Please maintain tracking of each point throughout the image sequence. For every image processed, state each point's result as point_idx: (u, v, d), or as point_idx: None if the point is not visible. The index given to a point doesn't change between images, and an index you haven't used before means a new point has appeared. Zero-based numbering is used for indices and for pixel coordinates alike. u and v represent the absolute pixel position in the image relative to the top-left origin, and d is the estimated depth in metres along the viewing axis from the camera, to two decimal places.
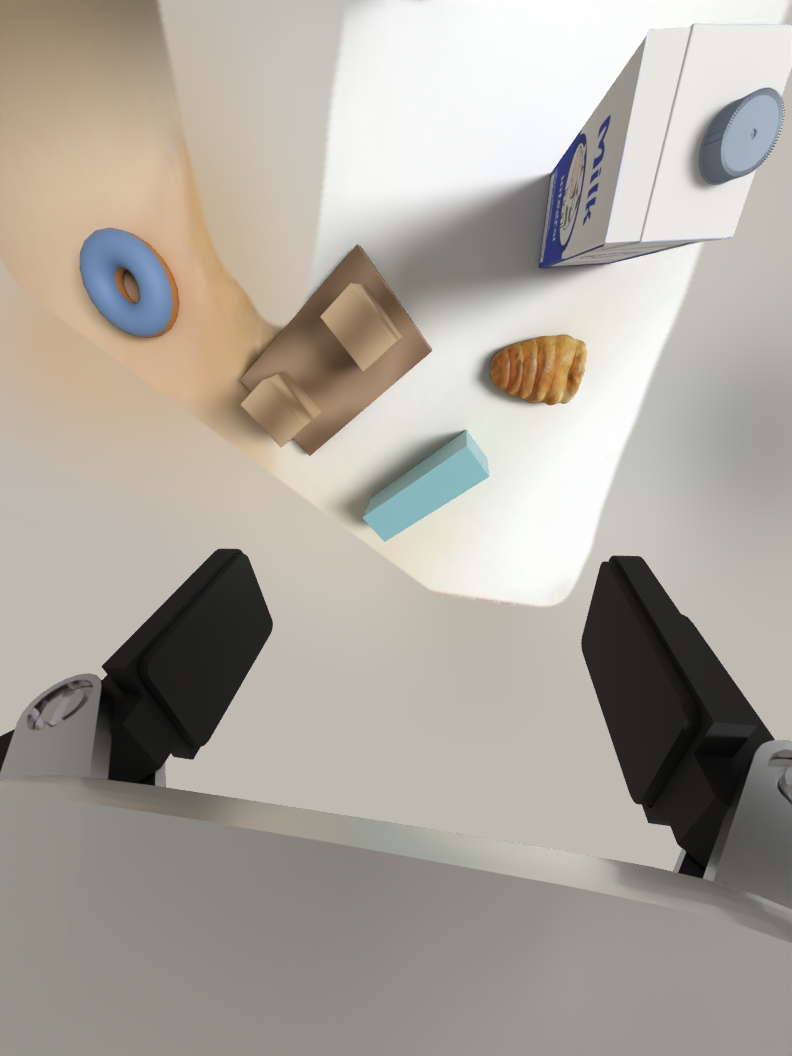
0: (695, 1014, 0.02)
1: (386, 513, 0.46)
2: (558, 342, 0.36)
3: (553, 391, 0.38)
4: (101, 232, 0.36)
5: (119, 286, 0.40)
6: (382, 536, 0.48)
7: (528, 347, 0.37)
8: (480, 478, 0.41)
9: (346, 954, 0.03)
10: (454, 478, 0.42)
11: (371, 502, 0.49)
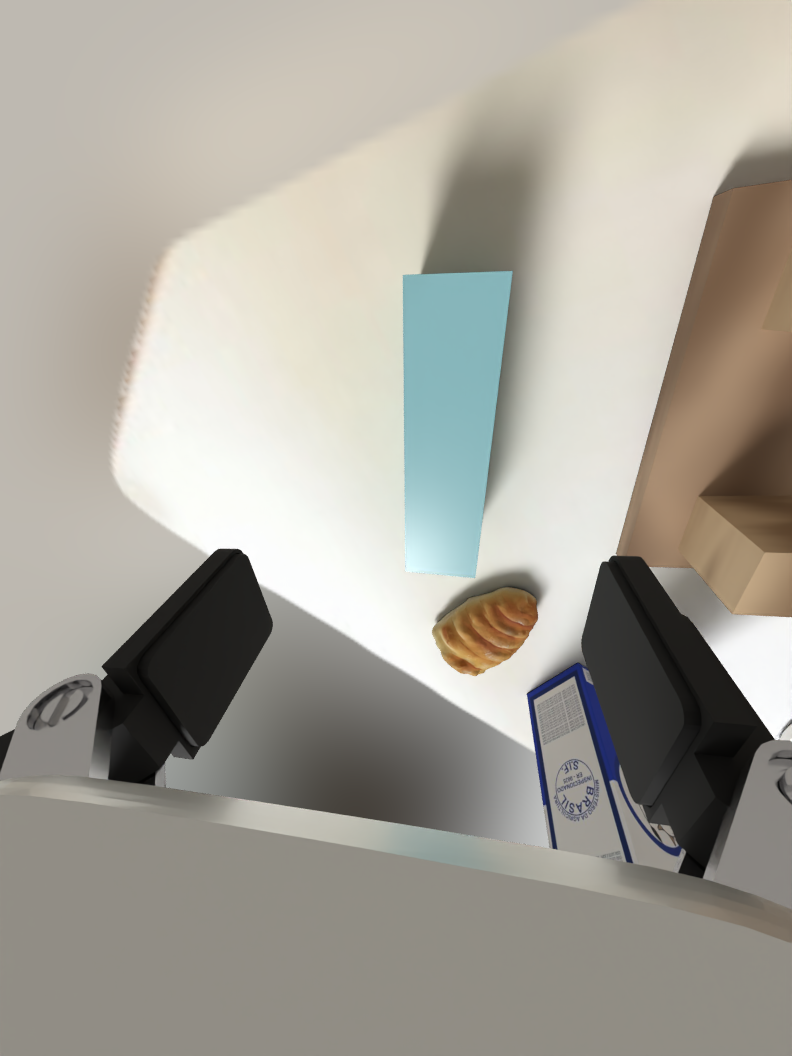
0: (694, 1010, 0.02)
1: (472, 354, 0.16)
2: None
3: (460, 647, 0.30)
4: None
5: None
6: (421, 283, 0.15)
7: (521, 641, 0.30)
8: (411, 560, 0.23)
9: (346, 954, 0.03)
10: (438, 530, 0.22)
11: None
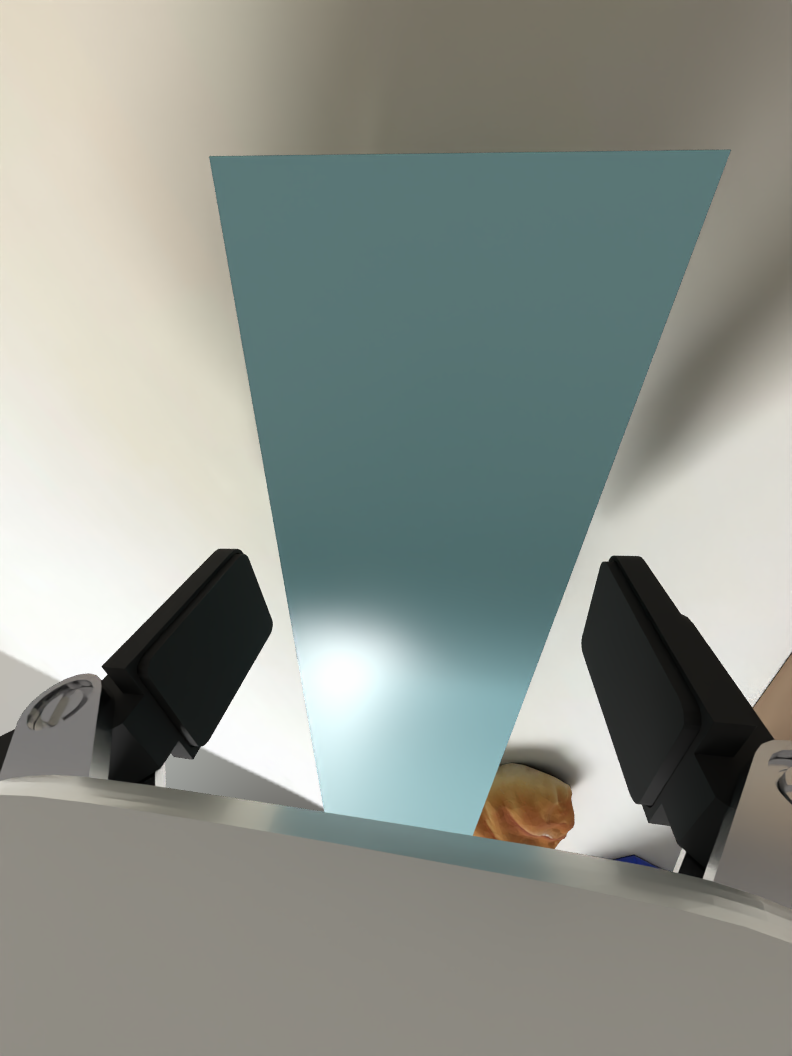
0: (695, 1014, 0.02)
1: (491, 482, 0.05)
2: None
3: None
4: None
5: None
6: (293, 200, 0.04)
7: None
8: None
9: (346, 955, 0.03)
10: (389, 796, 0.10)
11: None
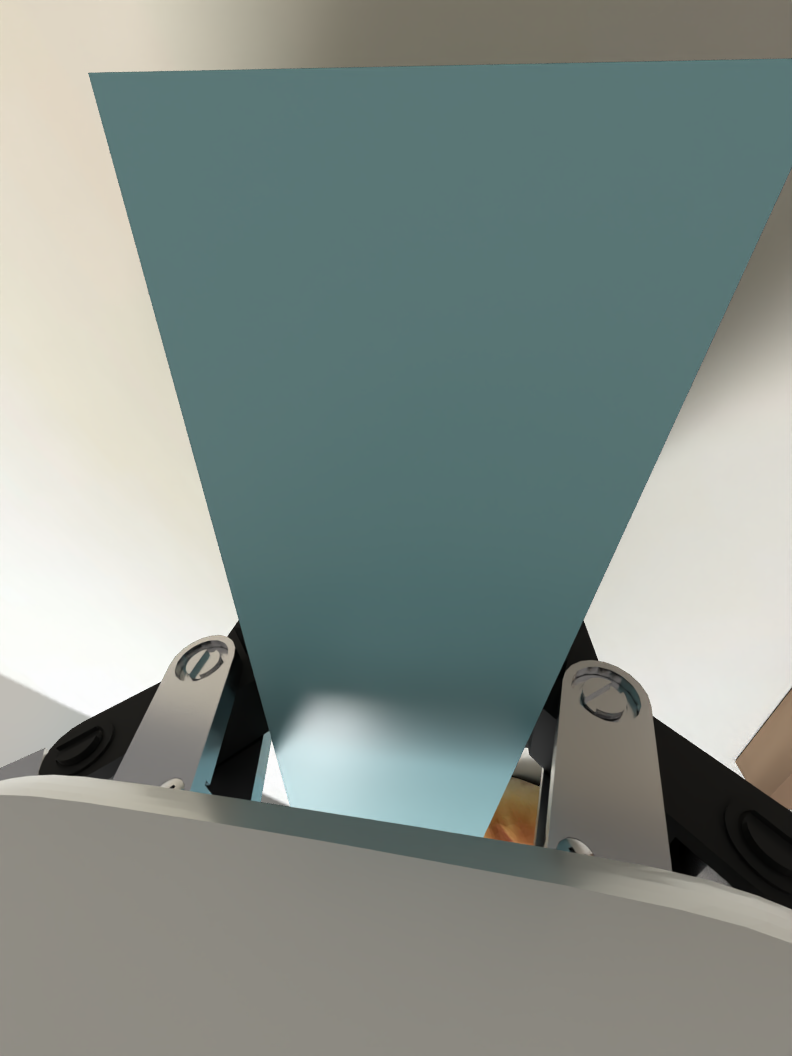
0: (697, 1014, 0.02)
1: (484, 517, 0.04)
2: None
3: None
4: None
5: None
6: (211, 138, 0.03)
7: None
8: None
9: (346, 955, 0.03)
10: None
11: None
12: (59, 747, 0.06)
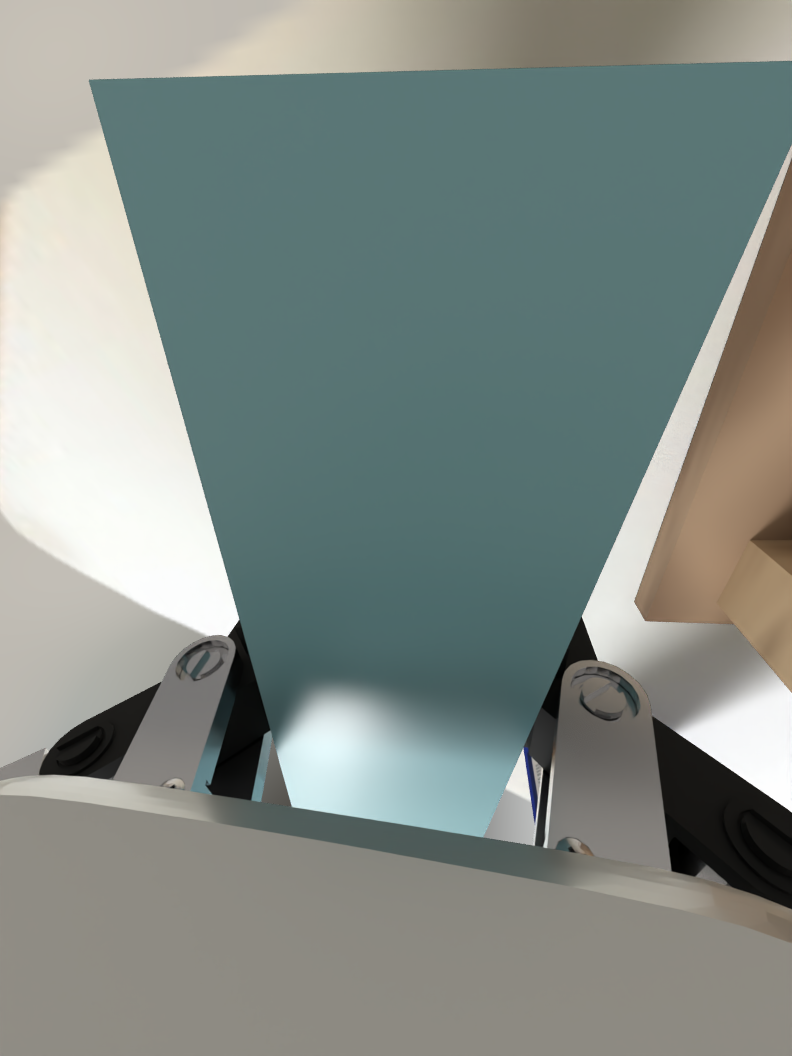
0: (695, 1012, 0.02)
1: (482, 516, 0.04)
2: None
3: None
4: None
5: None
6: (209, 143, 0.03)
7: None
8: None
9: (346, 954, 0.03)
10: None
11: None
12: (59, 747, 0.06)
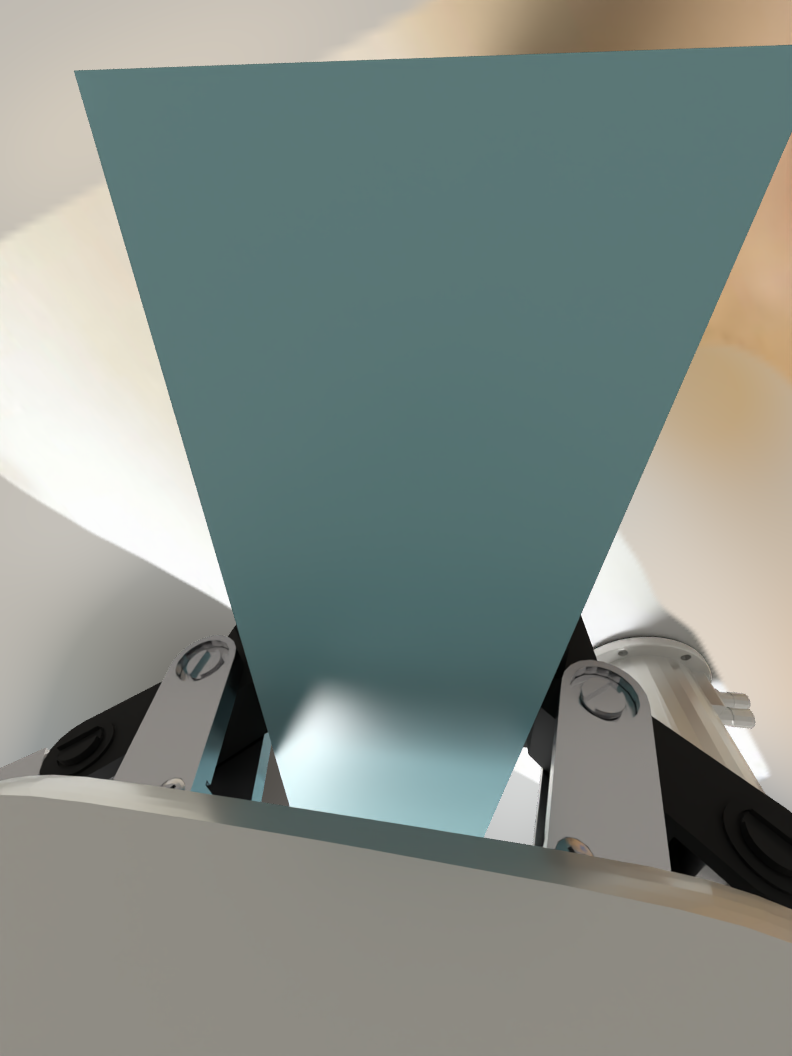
0: (697, 1014, 0.02)
1: (478, 514, 0.04)
2: None
3: None
4: None
5: None
6: (196, 135, 0.03)
7: None
8: None
9: (346, 955, 0.03)
10: None
11: None
12: (59, 747, 0.06)
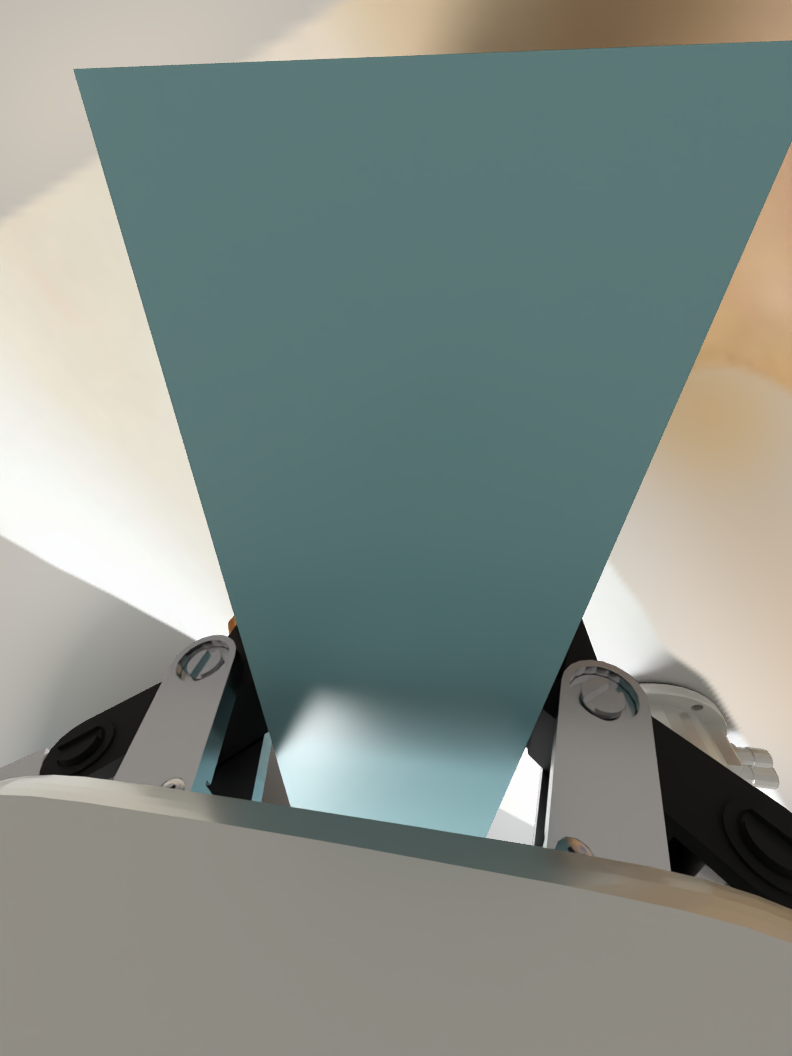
0: (697, 1014, 0.02)
1: (480, 515, 0.04)
2: None
3: None
4: None
5: None
6: (197, 134, 0.02)
7: None
8: None
9: (346, 955, 0.03)
10: None
11: None
12: (59, 747, 0.06)
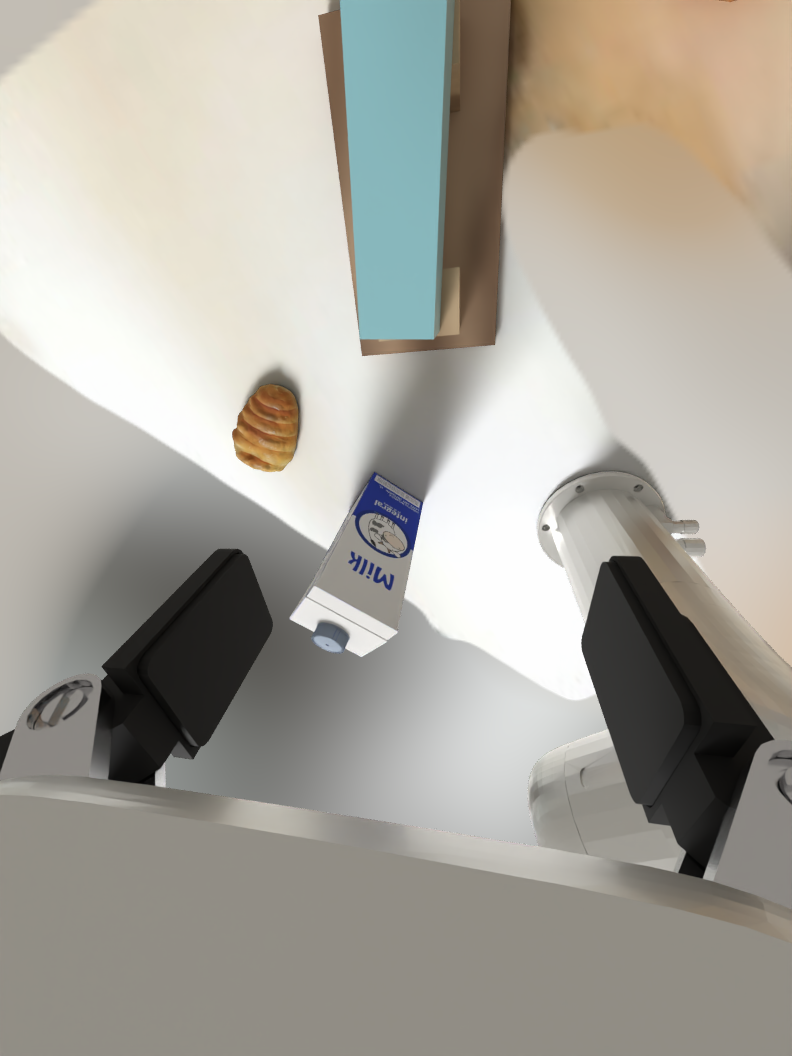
0: (694, 1011, 0.02)
1: None
2: (285, 453, 0.40)
3: (241, 440, 0.39)
4: None
5: None
6: None
7: (287, 429, 0.38)
8: (364, 321, 0.21)
9: (346, 954, 0.03)
10: (391, 271, 0.20)
11: None
12: None
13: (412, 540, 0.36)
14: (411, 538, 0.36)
